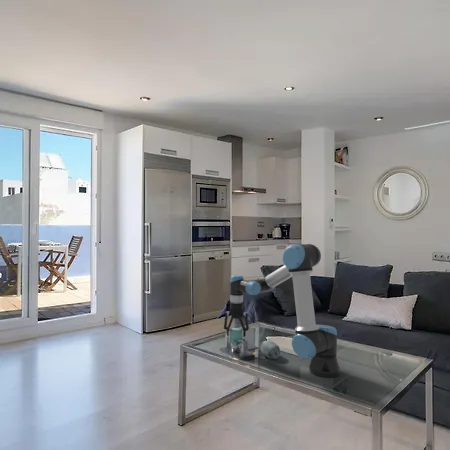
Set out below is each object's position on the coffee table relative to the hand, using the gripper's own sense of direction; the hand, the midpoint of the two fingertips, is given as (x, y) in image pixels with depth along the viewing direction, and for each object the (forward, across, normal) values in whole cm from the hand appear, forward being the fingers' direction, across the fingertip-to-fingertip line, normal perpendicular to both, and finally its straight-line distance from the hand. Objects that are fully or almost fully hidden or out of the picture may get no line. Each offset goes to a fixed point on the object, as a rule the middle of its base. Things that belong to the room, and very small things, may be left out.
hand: (236, 341), depth 219 cm
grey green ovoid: (+7, -20, +3) cm, 21 cm away
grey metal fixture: (+6, 0, 0) cm, 6 cm away
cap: (0, 0, 0) cm, 0 cm away
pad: (+6, -6, -11) cm, 14 cm away
